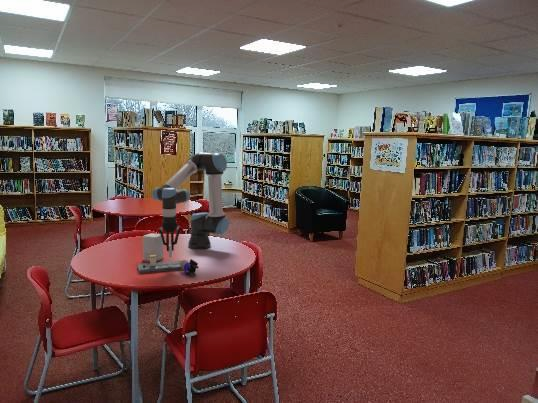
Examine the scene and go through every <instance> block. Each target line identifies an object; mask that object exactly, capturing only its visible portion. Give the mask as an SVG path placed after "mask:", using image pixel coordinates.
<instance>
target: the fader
mask: <svg viewBox="0 0 538 403" xmlns="http://www.w3.org/2000/svg"><path fill="white" fill-rule="evenodd" d="M156 257H157V256H156V255H150V261H149V263H150V266H156V262H157V261H156Z"/></svg>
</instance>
